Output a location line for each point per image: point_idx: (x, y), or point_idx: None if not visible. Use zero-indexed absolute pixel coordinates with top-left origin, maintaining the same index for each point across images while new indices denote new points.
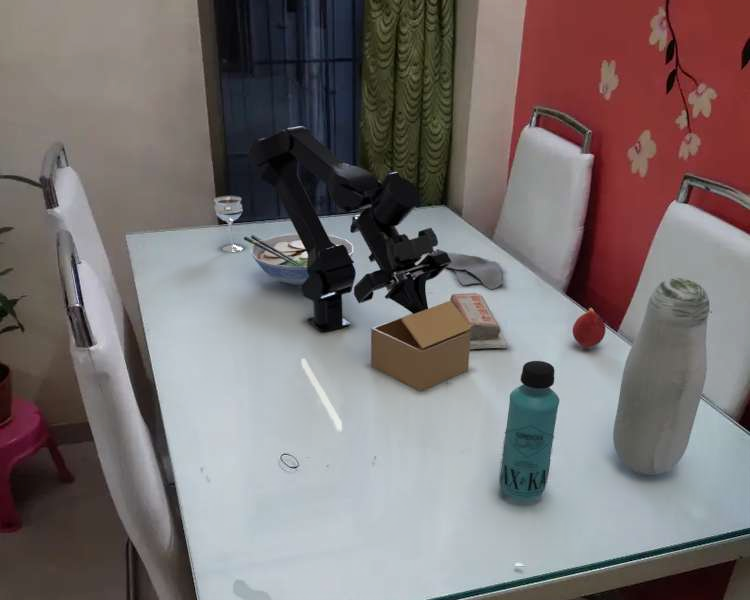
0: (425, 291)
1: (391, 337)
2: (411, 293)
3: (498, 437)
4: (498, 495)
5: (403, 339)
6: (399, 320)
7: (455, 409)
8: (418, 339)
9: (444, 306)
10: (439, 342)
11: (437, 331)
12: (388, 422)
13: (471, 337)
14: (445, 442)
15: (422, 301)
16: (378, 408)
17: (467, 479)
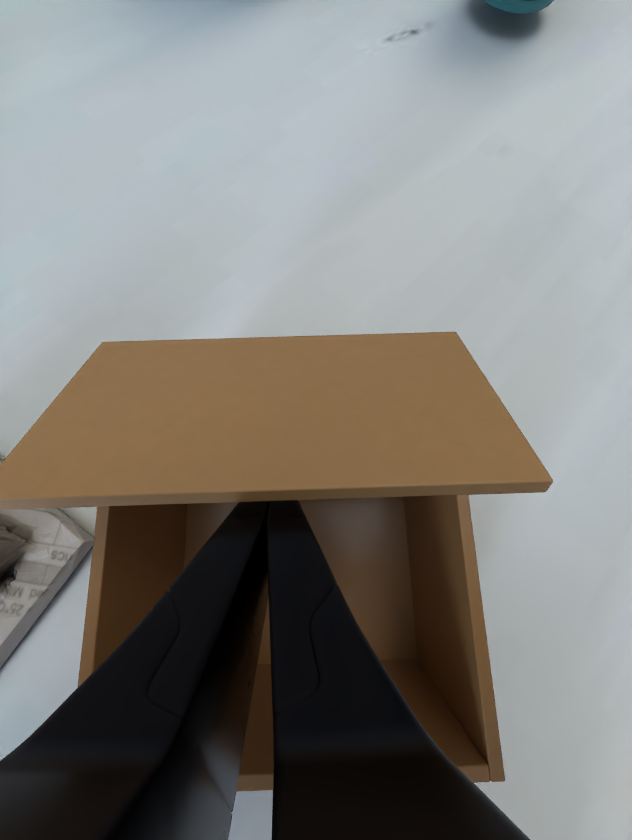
0: (111, 654)
1: (476, 574)
2: (358, 681)
3: (395, 142)
4: (538, 32)
5: (253, 692)
6: (266, 765)
7: (388, 276)
8: (465, 357)
9: (92, 469)
10: (162, 548)
11: (312, 365)
12: (582, 335)
13: (3, 530)
14: (511, 192)
15: (241, 571)
16: (566, 408)
17: (557, 87)
